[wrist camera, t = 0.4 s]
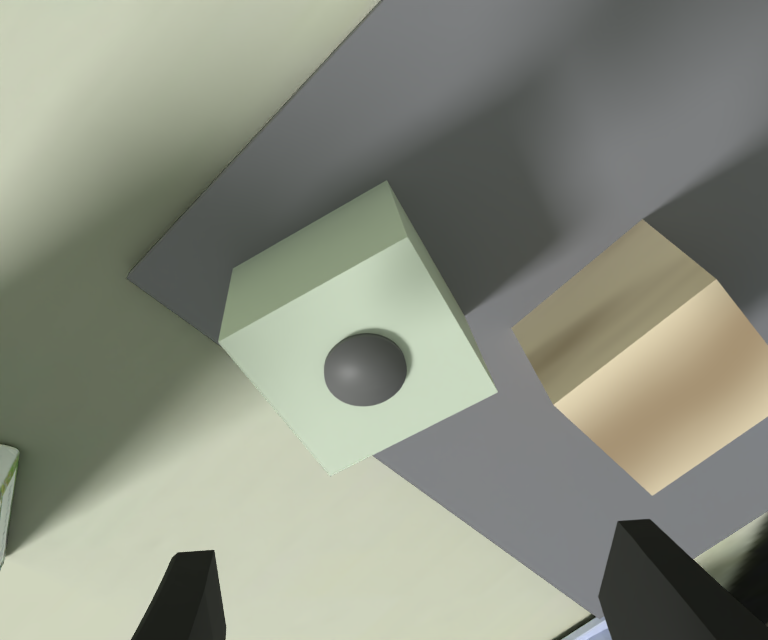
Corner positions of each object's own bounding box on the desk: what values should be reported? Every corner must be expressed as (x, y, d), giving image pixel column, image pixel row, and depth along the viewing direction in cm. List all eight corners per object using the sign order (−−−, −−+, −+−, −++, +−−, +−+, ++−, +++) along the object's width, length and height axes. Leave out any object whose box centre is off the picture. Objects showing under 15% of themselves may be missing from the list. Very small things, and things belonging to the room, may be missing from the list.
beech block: (723, 319, 22) (804, 391, 18) (599, 412, 23) (652, 496, 20) (642, 219, 19) (716, 278, 16) (511, 327, 21) (553, 404, 17)
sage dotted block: (464, 316, 20) (500, 396, 17) (325, 389, 21) (330, 481, 18) (386, 179, 18) (408, 240, 14) (232, 268, 19) (216, 346, 15)
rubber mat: (993, 353, 24) (1003, 359, 24) (595, 611, 29) (599, 619, 29) (651, -293, 14) (660, -299, 14) (129, 272, 19) (126, 278, 19)
